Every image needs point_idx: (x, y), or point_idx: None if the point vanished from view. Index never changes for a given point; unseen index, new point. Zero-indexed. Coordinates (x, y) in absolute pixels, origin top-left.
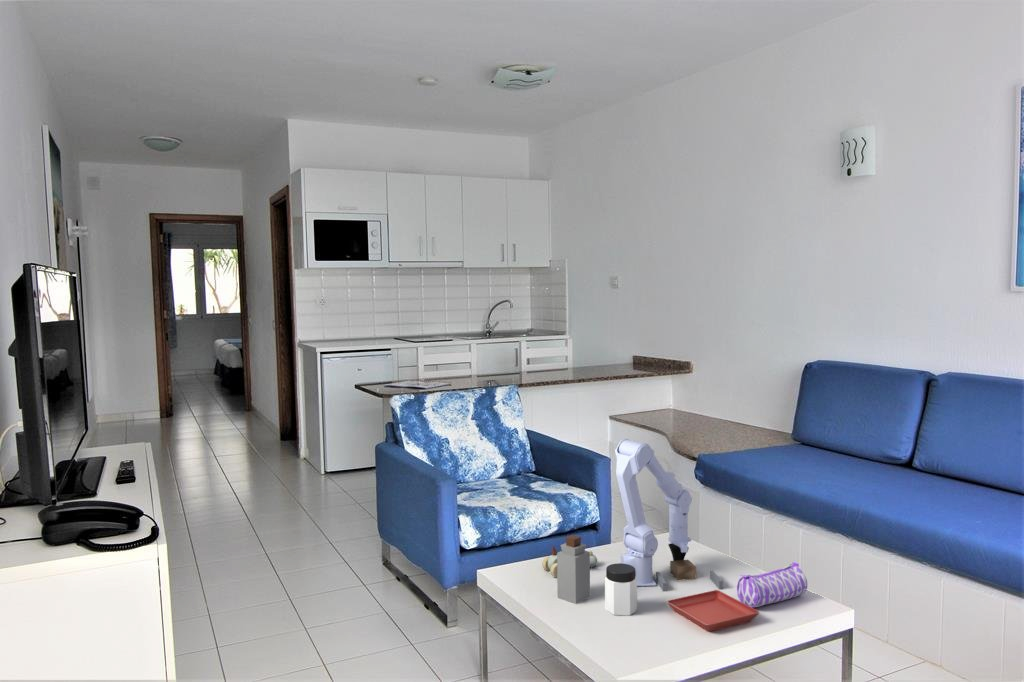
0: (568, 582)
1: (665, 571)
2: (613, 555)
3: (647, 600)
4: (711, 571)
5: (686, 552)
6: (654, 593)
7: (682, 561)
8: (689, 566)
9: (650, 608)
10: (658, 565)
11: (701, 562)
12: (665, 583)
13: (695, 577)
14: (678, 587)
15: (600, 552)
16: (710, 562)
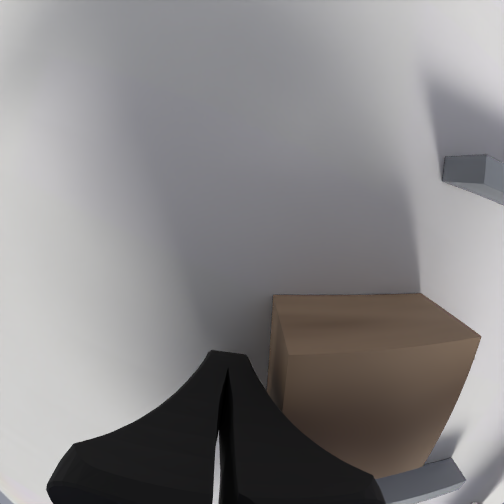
0: None
1: None
2: (19, 477)
3: (457, 493)
4: (502, 187)
5: (334, 457)
6: None
7: (324, 423)
8: (456, 391)
9: (490, 480)
10: (108, 420)
11: (88, 84)
12: (463, 481)
13: (425, 299)
14: (456, 415)
15: (7, 483)
16: (114, 18)
